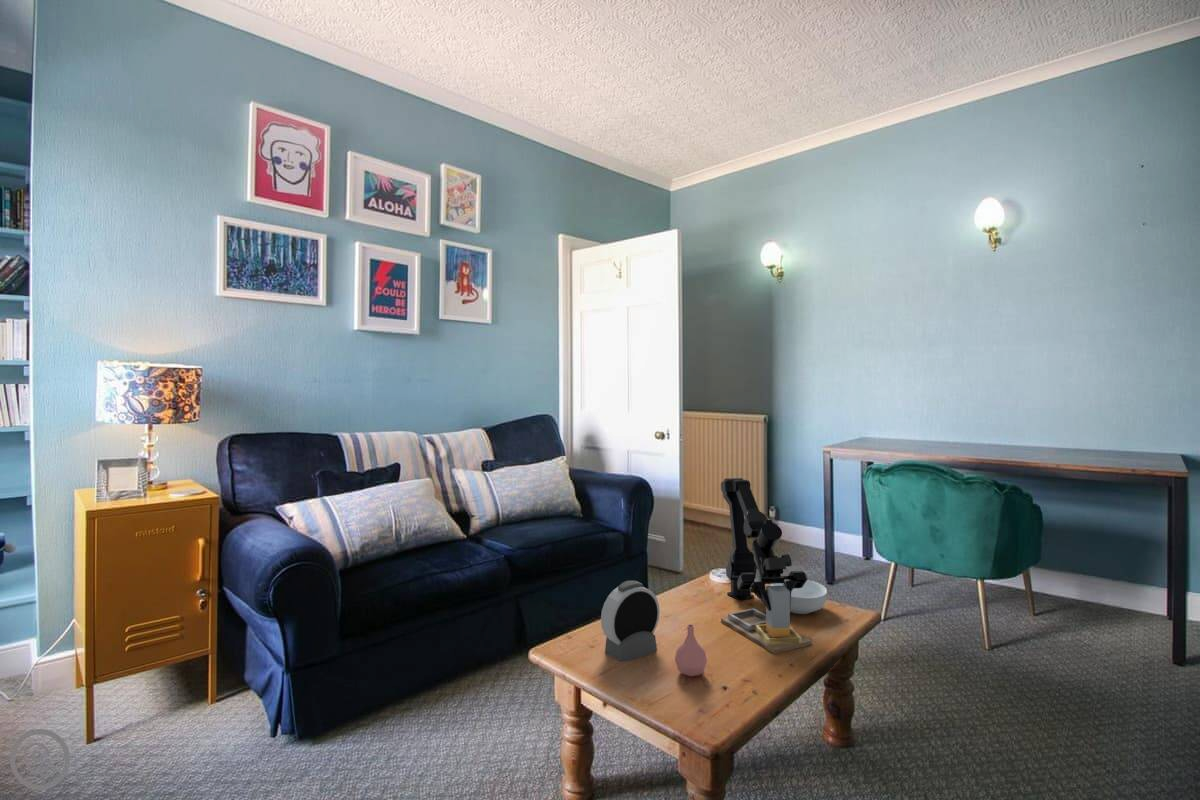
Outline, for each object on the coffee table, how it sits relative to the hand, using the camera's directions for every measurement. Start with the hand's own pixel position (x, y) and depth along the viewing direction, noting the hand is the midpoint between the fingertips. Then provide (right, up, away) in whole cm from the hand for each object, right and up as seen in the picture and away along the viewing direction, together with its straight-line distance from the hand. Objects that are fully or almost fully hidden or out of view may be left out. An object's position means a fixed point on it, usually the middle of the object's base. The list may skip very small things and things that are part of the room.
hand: (779, 609), depth 159 cm
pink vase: (-27, -10, -17) cm, 33 cm away
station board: (-2, -9, +7) cm, 11 cm away
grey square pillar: (0, -7, +2) cm, 7 cm away
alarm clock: (-41, -10, -3) cm, 42 cm away
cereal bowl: (+13, -8, +23) cm, 28 cm away
